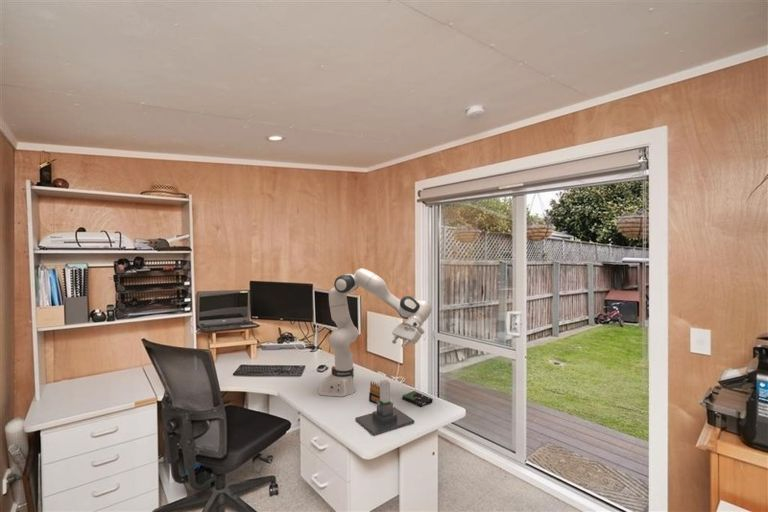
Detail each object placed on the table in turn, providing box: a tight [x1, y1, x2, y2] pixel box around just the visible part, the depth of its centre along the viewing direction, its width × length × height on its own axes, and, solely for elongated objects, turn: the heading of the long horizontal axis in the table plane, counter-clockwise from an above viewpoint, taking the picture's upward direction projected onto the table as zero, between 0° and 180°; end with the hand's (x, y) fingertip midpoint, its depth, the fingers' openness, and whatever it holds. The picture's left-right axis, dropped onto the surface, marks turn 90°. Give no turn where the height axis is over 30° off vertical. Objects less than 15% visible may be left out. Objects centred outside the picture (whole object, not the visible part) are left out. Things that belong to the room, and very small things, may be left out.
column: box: [379, 379, 391, 405], centre depth 189 cm, size 4×4×14 cm
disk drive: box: [401, 390, 434, 408], centre depth 215 cm, size 10×3×15 cm
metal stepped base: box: [354, 401, 415, 437], centre depth 189 cm, size 24×18×10 cm
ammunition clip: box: [368, 380, 380, 405], centre depth 211 cm, size 11×2×12 cm, turn 46°
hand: (397, 345), depth 206 cm, fingers open, 8 cm apart
